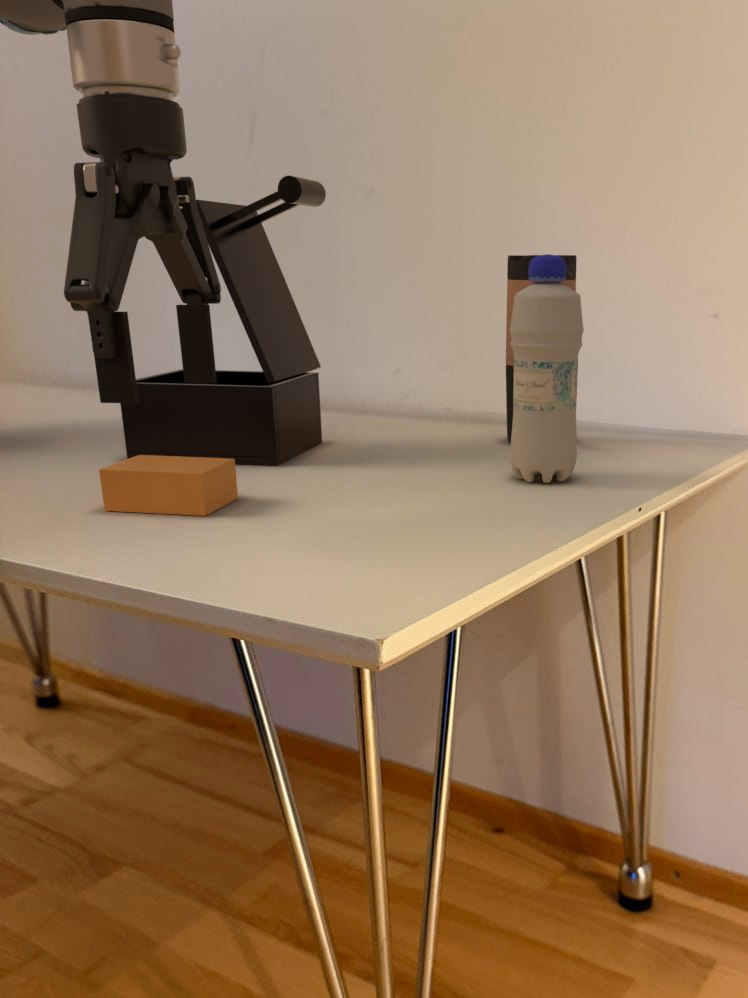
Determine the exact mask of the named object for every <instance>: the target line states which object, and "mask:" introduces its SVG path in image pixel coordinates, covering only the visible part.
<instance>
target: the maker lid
mask: <svg viewBox="0 0 748 998" xmlns="http://www.w3.org/2000/svg"><path fill="white" fill-rule="evenodd" d="M326 193H327V192H326V189H325V186H324V185H323V184H322V183H321V182H319V181H318V180H312V179H309V178H304V177H299V176H294V175H284V176H283V177H282V178H280V180H279V182H278V184H277V191H274V192H273V193H270V194H268V195H266V196H264V197H263V198H260V199H258V200H256V201H254V202H251V203H250V204H248V205H245V204H236V203H229V202H220V201H213V200H205V199H196V203H197V208H198V212H199V215H200V218H201V222H202V225H203V228H204V232H205V235H206V239H207V242H208V245H209V249H210V252H211V255H212V257H213V260H214V261H215V263H216V266H217V268H218V270H219V274H220V275H221V277H222V279H223V282H224V284H225V287H226V290H227V291H228V294H229V296H230V298H231V301H232V303H233V305H234V308H235V310H236V312H237V314H238V316H239V319H240V322H241V323H242V326H243V328H244V331H245V334H246V335H247V338H248V340H249V342H250V344H251V347H252V349H253V351H254V354H255V356H256V359H257V361H258V363H259V366H260V368H261V371H263V373H264V375H265V377H266V380H267V382H268V383H272V382H275V381H279V380H282V379H285V378H289V377H292V376H296V375H299V374H302V373H306V372H313V371H315V370H318V369H320V368H322V366H321V363H320V361H319V359H318V356H317V354H316V351H315V349H314V346H313V344H312V342H311V338H310V337H309V334H308V332H307V329H306V327H305V325H304V323H303V320H302V318H301V315H300V313H299V310H298V308H297V305H296V303H295V300H294V297H293V295H292V294H291V293H292V292H291V290H290V288H289V285H288V283H287V281H286V278H285V276H284V273H283V271H282V268H281V266H280V264H279V261H278V259H277V257H276V254H275V252H274V250H273V247H272V244H271V243H270V240H269V237H268V235H267V233H266V230H265V227H264V225H263V223H265V222H267V221H268V220H270V219H273V218H275V217H277V216H279V215H282V214H283V213H285V212H287V211H290V210H292V209H294V208H296V207H298V206H306V207H314V208H317V207H320V206H321V205H323V203H324V202H325V201H326V196H327V194H326ZM280 201H283V202H282V203H280V204H278V205H276V206H273V207H271V208H269V209H267V210H265V211H263V212H261V213H258V211H261V210H263V209H265V208H267V207H269V206H271V205H273V204H275V203H277V202H280Z"/></svg>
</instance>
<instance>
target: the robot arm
mask: <svg viewBox="0 0 748 998" xmlns="http://www.w3.org/2000/svg"><path fill="white" fill-rule="evenodd" d="M174 17H175V16H174V6H173V0H0V24H1V25H3V26H4V27H6V28H8V29H9V30H11V31H13V32H14V33H15V32H16V33H18V34H22V35H26V36H27V35H28V36H30V35H31V36H35V35H41V34H42V35H46V36H47V35H54V34H57V33H58V32H64V31H66V36H67V44H68V52H69V62H70V69H71V70H70V71H71V79H72V86H73V88H74V89H75V90H76V91H77V92H79V93H80V94H82V96H83V97H82V98H80V99H78V103H76V111H77V119H78V127H79V136H80V143H81V148H82V151H83V152H84V153H85V154H86V155H87V156H89V157H92V158H95V159H99V161H92V162H91V161H90V162H75V163H74V165H73V180H74V194H75V198H74V206H73V212H72V213H73V215H72V223H71V230H70V239H69V244H68V245H69V247H68V254H67V262H66V272H65V279H64V287H63V295H64V299H65V300H66V301H67V302H68V303H69V304H70V307H71V309H72V310H73V311H74V312H86V314H87V318H88V325H89V326H88V327H89V332H90V334H89V335H90V340H91V347H92V353H93V359H94V366H95V372H96V379H97V380H96V381H97V388H98V395H99V402H100V404H120V403H131V404H134V403H138V402H139V401H138V393H137V385H136V379H137V378H136V370H135V362H134V355H133V346H132V337H131V329H130V323H129V322H130V321H129V313H128V311H119V309H120V305H121V303H122V298H123V296H124V292H125V288H126V284H127V281H128V277H129V274H130V271H131V268H132V263H133V259H134V257H135V253H136V250H137V246H138V243H139V240H140V239H142V238H145V239H146V240H148V241H150V242H152V244H153V245H154V247H155V249H156V251H157V254H158V256H159V258H160V260H161V261H162V264H163V266H164V268H165V270H166V272H167V274H168V276H169V278H170V280H171V282H172V284H173V287H174V288H175V290H176V293H177V294H178V296H179V299H180V301H181V303H183V304H176V305H175V308H176V317H177V327H178V336H179V337H178V338H179V344H180V354H181V364H182V370H183V374H184V383H217V379H216V370H217V369H216V361H215V359H216V358H215V349H214V339H213V338H214V337H213V329H212V319H211V309H210V307H211V306H210V304H211V305H214V304H217V305H218V304H220V303H221V301H222V294H221V292H222V286H221V283H220V279H219V276H218V273H217V272H218V271H217V270H216V269H217V268H216V265H215V262H214V258H213V254H212V252H211V249H210V247H209V245H208V242H207V239H206V235H205V232H204V228H203V225H202V222H201V218H200V215H199V212H198V208H197V203H196V200H197V197H196V190H195V184H194V180H193V178H192V177H191V176H174V175H173V172H172V171H173V170H172V167H171V164H172V162H173V160H180V159H183V158H185V156H186V154H187V152H188V148H187V139H186V137H187V136H186V128H185V117H184V109H183V108H182V106H181V105H180V104H179V103H178V102H177V101H175V100H174V98H176V97H178V96H179V94H180V93H181V84H180V76H179V74H180V73H179V66H178V65H179V64H178V60H179V59H180V57H181V56H182V51H181V48H180V46H179V45H178V44H176V37H175V36H176V35H175V25H174V22H175V19H174ZM83 281H84V282H83ZM82 282H83V283H82Z"/></svg>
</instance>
